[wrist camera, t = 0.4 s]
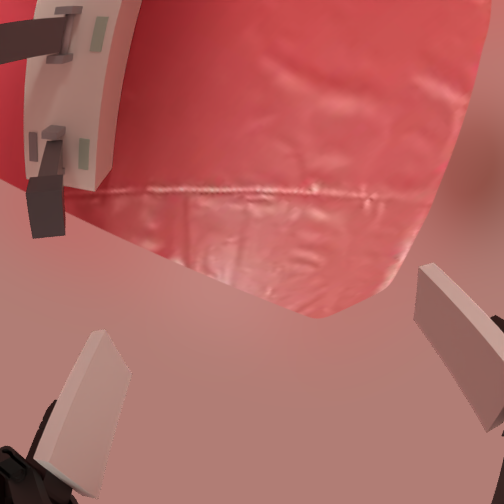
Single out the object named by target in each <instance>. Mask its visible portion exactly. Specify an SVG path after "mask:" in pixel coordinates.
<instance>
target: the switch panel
mask: <svg viewBox="0 0 504 504" xmlns="http://www.w3.org/2000/svg"><path fill="white" fill-rule="evenodd" d="M141 3H142V0H37V4H36V9H35V13H34V18H33V19H42V18H55V17H66V21H65V26H64V31H63V37H62V42H61V48H60V53H54V54H48V55H42V56H36V57H31V58H27V66H26V77H25V92H24V154H25V170H26V179H30V177H38V173H39V169H40V165H41V161H42V157H43V153H44V150H45V146H46V142H47V141H53V140H63V171H62V174H63V185H64V186H68V187H73V188H79V189H84V190H89V191H94V192H95V191H96V189H97V188H98V187H99V185H100V184H101V182H102V181H103V180H104V178H105V177H106V176H107V174H108V173H109V172H110V170H111V169H112V163H113V152H114V142H115V133H116V125H117V117H118V110H119V103H120V97H121V91H122V85H123V79H124V74H125V69H126V64H127V59H128V54H129V50H130V45H131V41H132V37H133V33H134V29H135V25H136V21H137V17H138V14H139V10H140V7H141Z"/></svg>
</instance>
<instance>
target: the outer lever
mask: <svg viewBox="0 0 504 504" xmlns="http://www.w3.org/2000/svg"><path fill="white" fill-rule="evenodd" d="M62 171H63V140H53V141H47V142H46V146H45V150H44V153H43V157H42V161H41V165H40V169H39V173H38V177H30V179H29V183H28V187H27V191H26V199H27V206H28V213H29V220H30V225H31V231H32V237H33V239H34V238H44V237H53V236H64V235H65V205H64V185H63V174H62Z"/></svg>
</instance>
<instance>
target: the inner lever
mask: <svg viewBox="0 0 504 504" xmlns="http://www.w3.org/2000/svg"><path fill="white" fill-rule="evenodd" d="M65 21H66V17H55V18H42V19H32V20H24V21H17V22H10V23H4V24H0V64H4V63H8V62H13V61H17V60H21V59H26V58H31V57H36V56H42V55H48V54H54V53H60V48H61V42H62V37H63V31H64V26H65Z"/></svg>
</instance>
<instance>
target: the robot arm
mask: <svg viewBox="0 0 504 504" xmlns="http://www.w3.org/2000/svg"><path fill="white" fill-rule="evenodd" d="M414 321H415V322H416V324H417V325H418V326H419V328H420V329H421V331H422V332H423V333H424V335H425V336H426V338H427V339H428V340H429V342H430V343H431V345H432V346H433V348H434V349H435V351H436V352H437V354H438V355H439V356H440V358H441V359H442V361H443V362H444V364H445V366H446V367H447V368H448V370H449V372H450V373H451V375H452V376H453V378H454V379H455V381H456V382H457V384H458V386H459V387H460V389H461V390H462V392H463V393H464V395H465V397H466V398H467V400H468V402H469V403H470V405H471V407H472V408H473V410H474V412H475V413H476V415H477V417H478V418H479V420H480V422H481V424H482V426H483V427H484V429H485V431H486V432H488V431H490V430H492V429H493V428H495V427H497V426H498V425H500V424H501V423H503V421H504V320H503V319H501V318H500V317H498V316H496V315H495V316H493V317H491V318H489V317H488V316H487V314H486V313H485V312H484V311H483V310H482V309H481V308H480V307H479V306H478V305H477V304H476V303H475V302H474V301H473V300H472V299H471V298H470V297H469V296H468V295H467V294H466V293H465V292H464V291H463V290H462V289H461V288H460V287H459V286H458V285H457V284H456V283H455V282H454V281H453V280H452V279H451V278H450V277H448V276H447V275H446V274H445V273H444V272H443V271H442V270H441V269H440V268H439V267H438V266H437V265H436V264H435V263H430V264H427V265H423V266H419V271H418V282H417V293H416V303H415V312H414ZM131 376H132V373H131V371H130V370H129V368H128V367H127V365H126V363H125V361H124V360H123V358H122V356H121V355H120V353H119V351H118V350H117V348H116V346H115V345H114V343H113V341H112V339H111V337H110V336H109V334H108V332H107V330H106V329H105V330H97V331H92V332H91V334H90V336H89V338H88V340H87V341H86V344H85V345H84V347H83V349H82V351H81V353H80V355H79V357H78V359H77V361H76V363H75V365H74V367H73V369H72V371H71V373H70V375H69V377H68V379H67V381H66V383H65V385H64V387H63V389H62V391H61V393H60V396H59V398H58V400H54V402H53V403H52V404H51V405H50V406H49V407H48V409H47V410H46V413H45V415H44V417H43V421H42V422H41V424H40V426H39V430H38V431H37V433H36V435H35V438H34V440H33V443H32V446H31V448H30V450H29V453H28V455H27V457H26V459H24V458H23V457H22V456H21V455H19V454H18V453H17V452H16V451H15V450H14V449H13V448H11V447H10V446H4V447H1V448H0V504H78V502H77V500H76V499H75V497H74V496H73V495H72V494H71V493H72V489H74V490H75V491H76V492H78V493H79V494H81V495H82V496H87V497H92V498H97V499H98V498H99V494H100V490H101V485H102V480H103V477H104V472H105V468H106V464H107V460H108V456H109V452H110V448H111V445H112V441H113V437H114V434H115V430H116V427H117V423H118V419H119V416H120V413H121V409H122V405H123V402H124V399H125V396H126V392H127V389H128V386H129V383H130V380H131ZM502 436H504V431H503V434H502ZM491 504H504V459H503V464H502V468H501V472H500V476H499V480H498V483H497V487H496V491H495V494H494V497H493V500H492V503H491Z"/></svg>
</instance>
